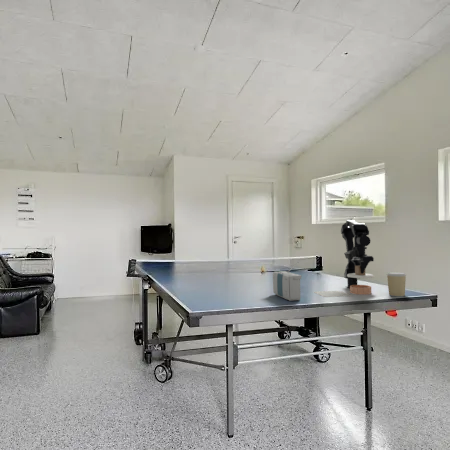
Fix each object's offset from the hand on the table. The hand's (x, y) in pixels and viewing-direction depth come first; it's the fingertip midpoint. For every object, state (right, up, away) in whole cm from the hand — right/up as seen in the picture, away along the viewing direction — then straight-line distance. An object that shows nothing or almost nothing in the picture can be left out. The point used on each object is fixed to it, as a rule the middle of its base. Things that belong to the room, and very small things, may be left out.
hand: (360, 272), depth 197 cm
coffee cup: (+17, -11, -7) cm, 22 cm away
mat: (-17, -12, -2) cm, 21 cm away
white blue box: (-43, -12, -9) cm, 46 cm away
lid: (0, -2, 0) cm, 2 cm away
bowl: (0, -12, 0) cm, 12 cm away
